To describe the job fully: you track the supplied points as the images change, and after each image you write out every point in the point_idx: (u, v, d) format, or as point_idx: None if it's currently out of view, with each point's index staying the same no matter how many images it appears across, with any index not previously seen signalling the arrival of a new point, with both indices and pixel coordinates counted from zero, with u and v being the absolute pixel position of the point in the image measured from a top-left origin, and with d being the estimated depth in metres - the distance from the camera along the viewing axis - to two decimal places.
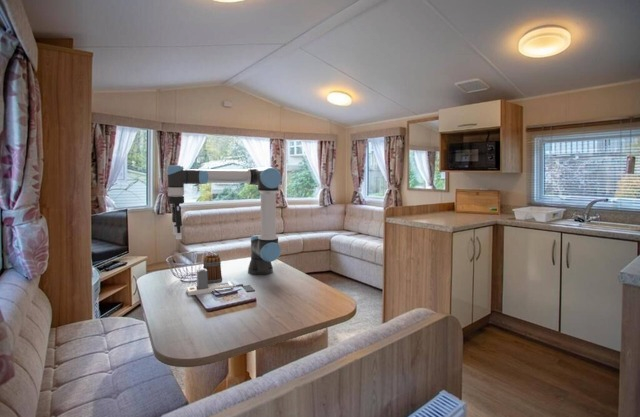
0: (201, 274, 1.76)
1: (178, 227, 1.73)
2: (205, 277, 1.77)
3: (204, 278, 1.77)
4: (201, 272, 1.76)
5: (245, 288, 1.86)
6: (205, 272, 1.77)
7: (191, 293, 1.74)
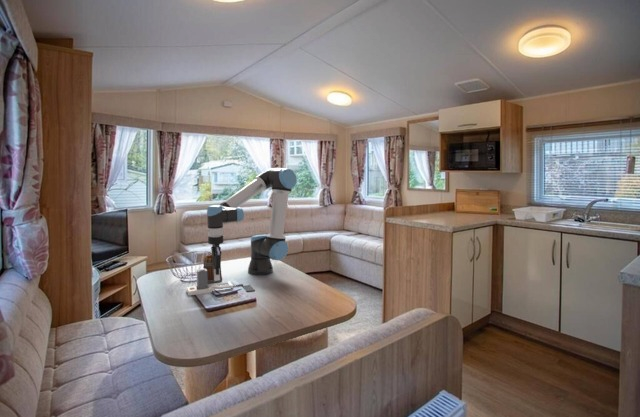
0: (201, 274, 1.76)
1: (217, 269, 1.80)
2: (205, 277, 1.77)
3: (204, 278, 1.77)
4: (201, 272, 1.76)
5: (245, 288, 1.86)
6: (205, 272, 1.77)
7: (191, 293, 1.74)
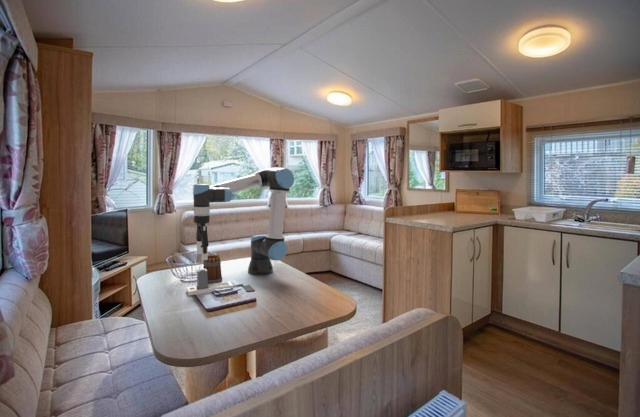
0: (201, 274, 1.76)
1: (204, 248, 1.69)
2: (205, 277, 1.77)
3: (204, 278, 1.77)
4: (201, 272, 1.76)
5: (245, 288, 1.86)
6: (205, 272, 1.77)
7: (191, 293, 1.74)
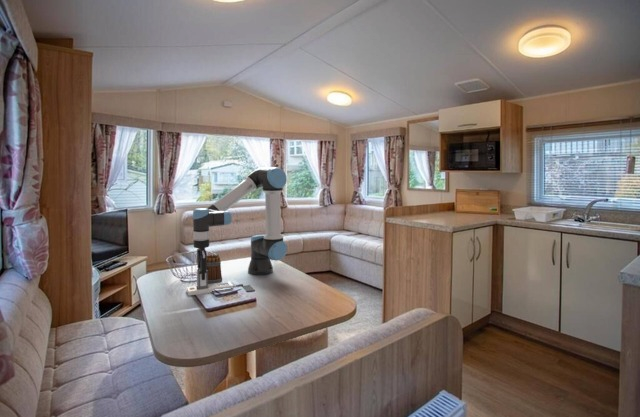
0: None
1: (203, 274, 1.75)
2: None
3: None
4: None
5: (245, 288, 1.86)
6: None
7: (191, 293, 1.74)
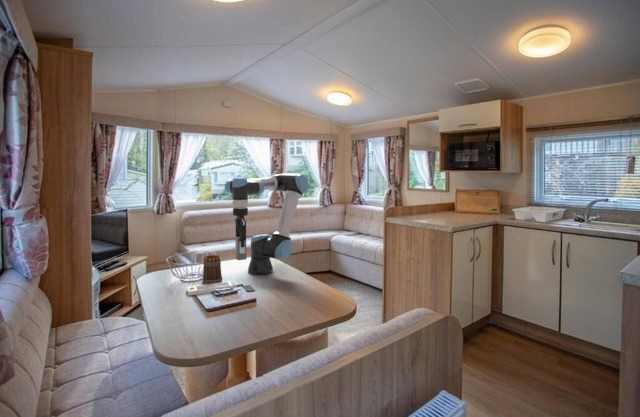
0: None
1: (242, 242, 1.79)
2: None
3: None
4: None
5: (245, 288, 1.86)
6: None
7: (191, 293, 1.74)
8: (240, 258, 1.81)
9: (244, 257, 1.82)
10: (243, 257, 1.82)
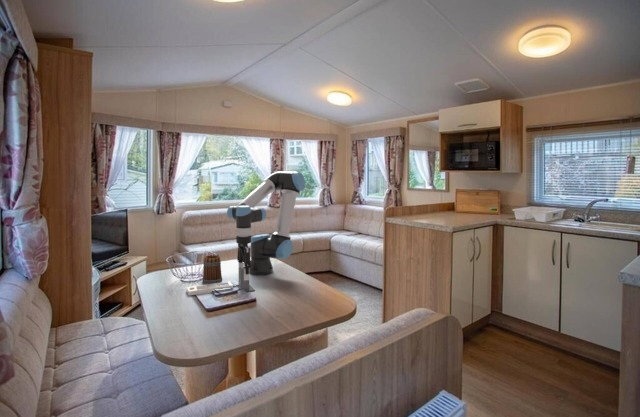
0: (243, 272, 1.82)
1: (247, 269, 1.78)
2: None
3: None
4: (243, 270, 1.82)
5: None
6: None
7: (191, 293, 1.74)
8: (243, 288, 1.83)
9: (247, 287, 1.84)
10: (246, 287, 1.84)
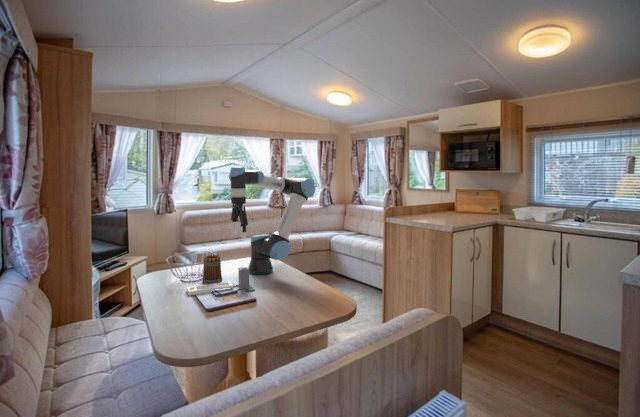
0: (243, 272, 1.82)
1: (244, 226, 1.80)
2: (247, 275, 1.83)
3: (246, 276, 1.83)
4: (243, 270, 1.82)
5: None
6: (247, 270, 1.83)
7: (191, 293, 1.74)
8: (243, 288, 1.83)
9: (247, 287, 1.84)
10: (246, 287, 1.84)
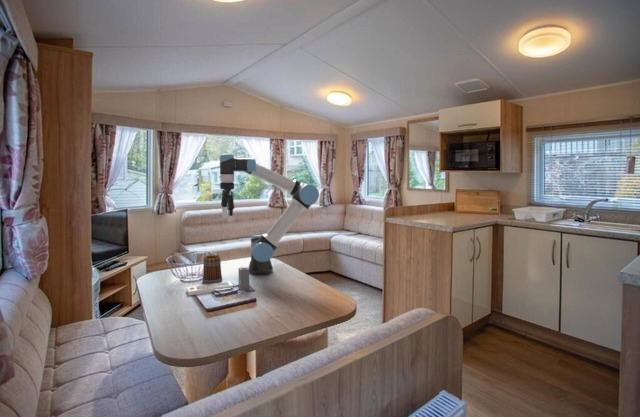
0: (243, 272, 1.82)
1: (230, 210, 1.90)
2: (247, 275, 1.83)
3: (246, 276, 1.83)
4: (243, 270, 1.82)
5: None
6: (247, 270, 1.83)
7: (191, 293, 1.74)
8: (243, 288, 1.83)
9: (247, 287, 1.84)
10: (246, 287, 1.84)
